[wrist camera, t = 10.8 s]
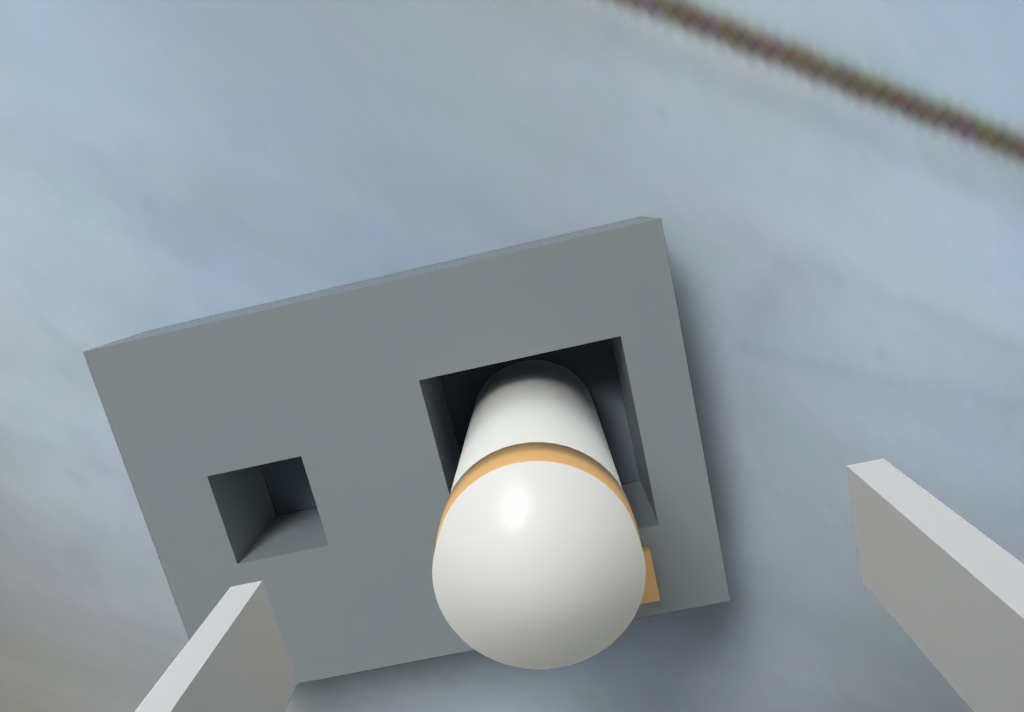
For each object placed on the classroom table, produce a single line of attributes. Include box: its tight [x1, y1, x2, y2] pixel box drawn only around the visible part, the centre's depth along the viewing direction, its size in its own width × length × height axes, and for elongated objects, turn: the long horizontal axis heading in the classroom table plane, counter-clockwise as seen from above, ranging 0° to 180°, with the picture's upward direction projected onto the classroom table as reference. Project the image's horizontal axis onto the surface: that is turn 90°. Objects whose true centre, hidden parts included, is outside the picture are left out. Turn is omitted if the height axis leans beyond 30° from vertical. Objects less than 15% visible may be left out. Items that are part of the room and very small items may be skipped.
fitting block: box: [83, 217, 730, 683], centre depth 26 cm, size 20×14×4 cm
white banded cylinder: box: [432, 360, 646, 669], centre depth 22 cm, size 5×5×12 cm
